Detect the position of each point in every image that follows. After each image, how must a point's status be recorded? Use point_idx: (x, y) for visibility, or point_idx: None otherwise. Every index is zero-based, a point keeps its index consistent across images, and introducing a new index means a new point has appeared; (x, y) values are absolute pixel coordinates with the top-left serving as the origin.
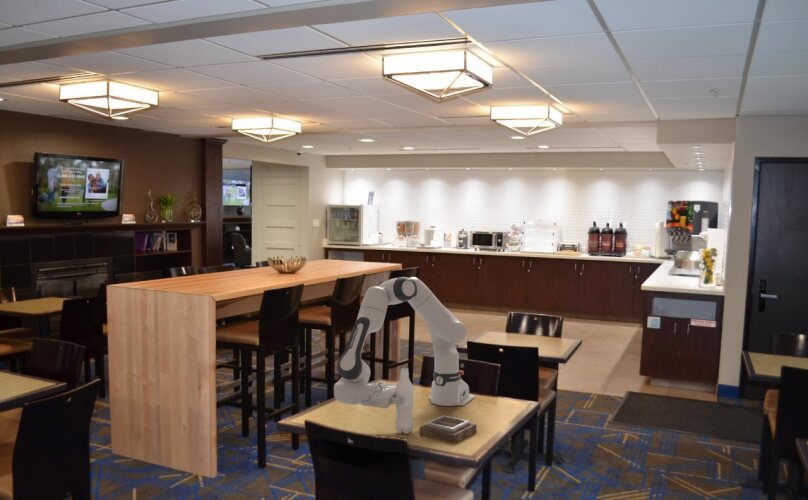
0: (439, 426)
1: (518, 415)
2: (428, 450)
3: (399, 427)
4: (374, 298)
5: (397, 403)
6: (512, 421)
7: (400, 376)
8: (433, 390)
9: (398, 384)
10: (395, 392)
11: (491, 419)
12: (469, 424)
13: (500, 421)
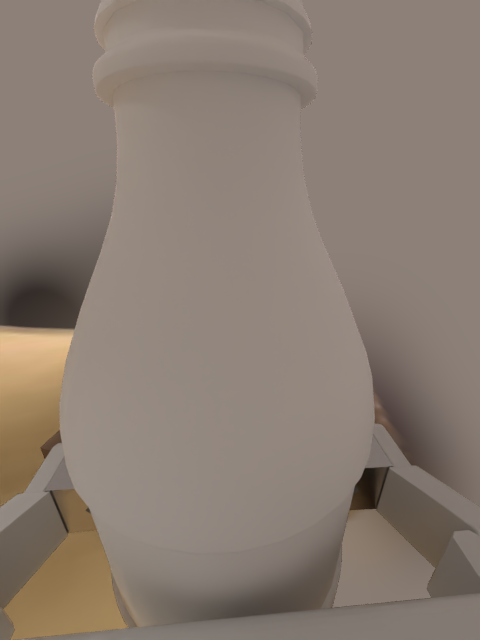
0: None
1: (11, 330)
2: (391, 431)
3: None
4: None
5: (336, 568)
6: (62, 332)
7: (268, 129)
8: None
9: (339, 326)
10: (185, 622)
11: (30, 361)
12: None
13: (56, 346)
